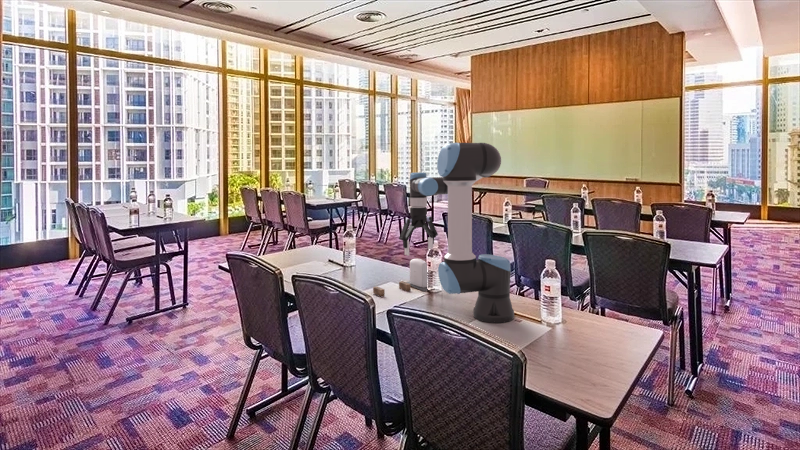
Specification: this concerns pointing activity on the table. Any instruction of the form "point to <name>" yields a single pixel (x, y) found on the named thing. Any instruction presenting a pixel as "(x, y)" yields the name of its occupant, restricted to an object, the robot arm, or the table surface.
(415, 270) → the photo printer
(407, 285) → the cradle
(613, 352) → the table surface
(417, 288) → the mat
